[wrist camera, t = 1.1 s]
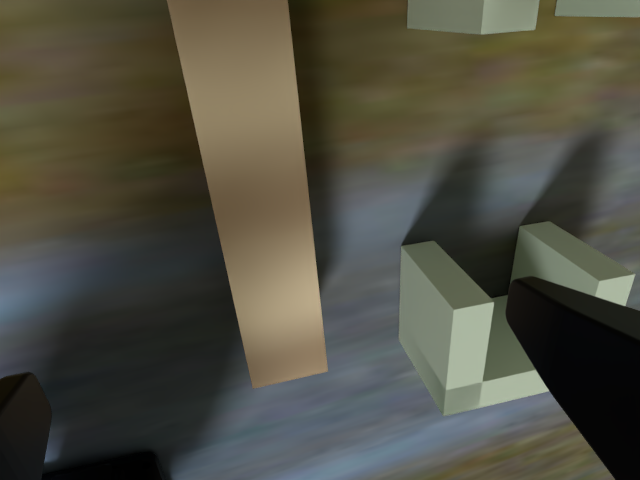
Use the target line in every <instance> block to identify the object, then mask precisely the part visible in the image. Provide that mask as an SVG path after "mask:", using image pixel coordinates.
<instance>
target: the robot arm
mask: <svg viewBox="0 0 640 480" xmlns="http://www.w3.org/2000/svg"><path fill="white" fill-rule="evenodd" d="M505 315H506V320H507V323H508V325H509V326H510V328H511V330H512V331H513V333H514V335H515V336H516V338H517V340H518V341H519V343H520V345H521V346H522V348H523V350H524V351H525V353H526V355H527V356H528V358H529V360H530V361H531V363H532V364H533V366H534V368H535V369H536V371H537V373H538V374H539V376H540V378H541V379H542V381H543V382H544V384H545V385H546V387H547V388H548V390H549V391H550V392H551V394H552V395H553V397H554V398H555V399H556V401H557V402H558V403H559V405H560V406H561V407H562V409H563V410H564V411H565V413H566V414H567V415H568V417H569V418H570V420H571V421H572V422H573V424H574V425H575V426H576V428H577V429H578V430H579V432H580V433H581V434H582V436H583V437H584V438H585V440H586V441H587V442H588V444H589V445H590V446H591V448H592V449H593V450H594V452H595V453H596V454H597V456H598V457H599V458H600V460H601V461H602V462H603V464H604V465H605V466H606V468H607V469H608V470H609V472H610V473H611V474H612V476H613V477H614V478H615V480H640V311H638V310H635V309H632V308H629V307H626V306H623V305H620V304H617V303H614V302H611V301H608V300H605V299H601V298H598V297H595V296H592V295H589V294H586V293H583V292H580V291H577V290H574V289H571V288H568V287H565V286H562V285H559V284H556V283H553V282H550V281H547V280H544V279H541V278H538V277H534V276H527V277H522V278H517V279H514V280H512V282H511V283H510V286H509V292H508V298H507V304H506V310H505ZM51 418H52V413H51V407H50V404H49V402H48V400H47V398H46V396H45V394H44V392H43V390H42V388H41V386H40V383H39V381H38V379H37V378H36V376H35V375H34V374H33V373H30V372H25V373H20V374H15V375H9V376H6V377H3V378H2V379H0V480H165V477H164V474H163V472H162V469H161V466H160V463H159V460H158V458H157V456H156V454H154V453H152V452H143V453H139V454H135V455H130V456H126V457H121V458H117V459H113V460H108V461H104V462H99V463H95V464H90V465H86V466H82V467H77V468H73V469H68V470H64V471H59V472H55V473H51V474H46V475H42V472H43V466H44V460H45V454H46V448H47V443H48V437H49V431H50V425H51Z"/></svg>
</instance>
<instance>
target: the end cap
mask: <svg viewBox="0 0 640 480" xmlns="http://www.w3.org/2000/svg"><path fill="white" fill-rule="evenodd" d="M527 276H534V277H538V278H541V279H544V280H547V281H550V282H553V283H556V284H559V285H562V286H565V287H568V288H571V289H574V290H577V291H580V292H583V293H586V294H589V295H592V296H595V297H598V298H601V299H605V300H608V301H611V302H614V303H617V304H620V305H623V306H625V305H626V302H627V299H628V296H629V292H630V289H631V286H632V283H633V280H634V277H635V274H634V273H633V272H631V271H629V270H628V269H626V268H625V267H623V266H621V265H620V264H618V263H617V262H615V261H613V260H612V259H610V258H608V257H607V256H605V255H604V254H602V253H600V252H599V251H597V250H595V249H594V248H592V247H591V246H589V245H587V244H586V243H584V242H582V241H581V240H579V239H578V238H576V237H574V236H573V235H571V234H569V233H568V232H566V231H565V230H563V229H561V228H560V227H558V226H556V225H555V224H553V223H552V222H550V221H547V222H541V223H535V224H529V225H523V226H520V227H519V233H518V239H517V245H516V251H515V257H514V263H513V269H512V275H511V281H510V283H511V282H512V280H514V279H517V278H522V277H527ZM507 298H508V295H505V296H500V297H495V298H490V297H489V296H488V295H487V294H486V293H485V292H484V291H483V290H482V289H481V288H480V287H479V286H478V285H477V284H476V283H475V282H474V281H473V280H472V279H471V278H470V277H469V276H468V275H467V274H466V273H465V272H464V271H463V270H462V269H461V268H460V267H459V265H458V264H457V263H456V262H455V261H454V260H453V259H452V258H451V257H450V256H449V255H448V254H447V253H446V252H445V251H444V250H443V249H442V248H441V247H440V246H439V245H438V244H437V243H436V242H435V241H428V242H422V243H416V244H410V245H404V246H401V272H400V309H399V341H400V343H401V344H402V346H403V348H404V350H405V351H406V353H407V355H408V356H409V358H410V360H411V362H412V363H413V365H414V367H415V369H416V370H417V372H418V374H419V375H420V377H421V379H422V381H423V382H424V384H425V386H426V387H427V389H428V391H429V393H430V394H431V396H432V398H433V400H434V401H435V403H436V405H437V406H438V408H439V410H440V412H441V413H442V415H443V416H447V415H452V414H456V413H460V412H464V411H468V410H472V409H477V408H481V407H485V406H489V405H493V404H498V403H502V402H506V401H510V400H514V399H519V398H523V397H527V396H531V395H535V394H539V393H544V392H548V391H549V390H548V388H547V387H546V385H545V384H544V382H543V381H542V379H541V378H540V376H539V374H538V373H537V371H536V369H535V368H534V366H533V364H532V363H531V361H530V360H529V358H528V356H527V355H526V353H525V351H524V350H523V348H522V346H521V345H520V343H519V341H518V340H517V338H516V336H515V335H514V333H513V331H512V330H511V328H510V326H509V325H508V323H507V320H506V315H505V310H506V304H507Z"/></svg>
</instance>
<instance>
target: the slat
mask: <svg viewBox="0 0 640 480" xmlns="http://www.w3.org/2000/svg"><path fill="white" fill-rule="evenodd" d="M167 3H168V7H169V12H170V16H171V21H172V26H173V30H174V35H175V39H176V44H177V48H178V53H179V57H180V62H181V66H182V71H183V75H184V80H185V84H186V89H187V93H188V98H189V102H190V107H191V111H192V116H193V120H194V125H195V129H196V134H197V138H198V143H199V147H200V152H201V156H202V161H203V166H204V170H205V175H206V179H207V184H208V188H209V193H210V197H211V202H212V206H213V211H214V215H215V220H216V224H217V229H218V233H219V238H220V242H221V247H222V251H223V256H224V260H225V265H226V269H227V274H228V278H229V283H230V287H231V292H232V296H233V301H234V306H235V310H236V315H237V319H238V324H239V328H240V333H241V337H242V342H243V346H244V351H245V355H246V360H247V364H248V369H249V373H250V378H251V382H252V387H253V389H254V388H258V387H262V386H267V385H271V384H275V383H280V382H284V381H288V380H293V379H297V378H301V377H306V376H310V375H314V374H319V373H323V372H327V371H328V368H327V359H326V350H325V340H324V331H323V322H322V313H321V303H320V294H319V285H318V276H317V266H316V257H315V248H314V239H313V229H312V220H311V211H310V202H309V192H308V183H307V174H306V165H305V155H304V146H303V137H302V128H301V118H300V109H299V100H298V91H297V81H296V72H295V63H294V54H293V44H292V35H291V26H290V17H289V7H288V0H167Z"/></svg>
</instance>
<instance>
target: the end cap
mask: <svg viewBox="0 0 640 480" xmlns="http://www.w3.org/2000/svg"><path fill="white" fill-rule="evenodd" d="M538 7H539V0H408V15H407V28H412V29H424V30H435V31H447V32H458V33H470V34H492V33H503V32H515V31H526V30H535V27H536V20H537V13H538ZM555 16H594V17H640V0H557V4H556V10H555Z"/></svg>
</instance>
